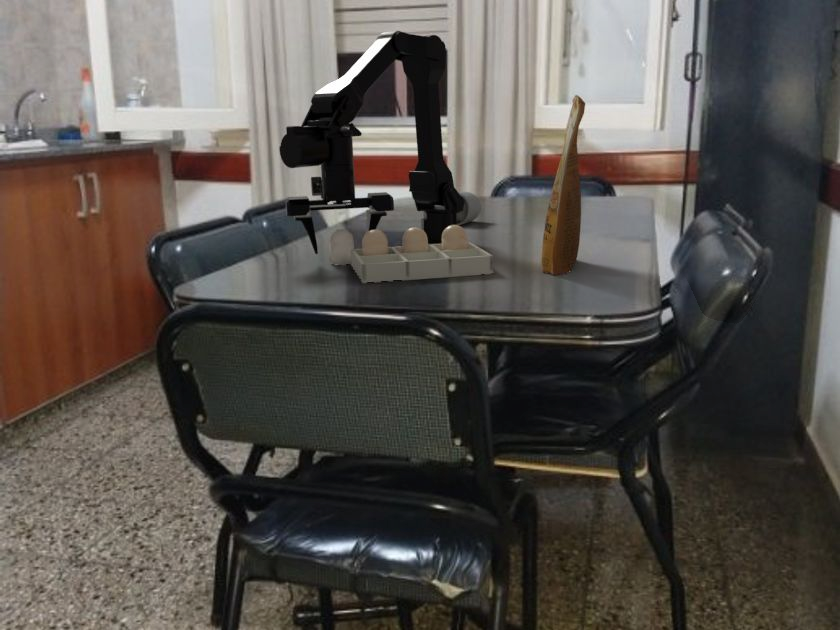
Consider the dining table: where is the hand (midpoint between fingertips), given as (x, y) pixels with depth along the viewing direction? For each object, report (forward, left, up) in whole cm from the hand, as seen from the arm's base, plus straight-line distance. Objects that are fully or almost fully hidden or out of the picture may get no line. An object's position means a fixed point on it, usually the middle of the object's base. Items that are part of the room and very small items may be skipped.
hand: (342, 252), depth 141 cm
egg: (0, 0, -2) cm, 2 cm away
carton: (-12, +11, -2) cm, 16 cm away
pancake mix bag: (-36, +16, -2) cm, 39 cm away
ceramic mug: (-32, -40, -2) cm, 51 cm away
